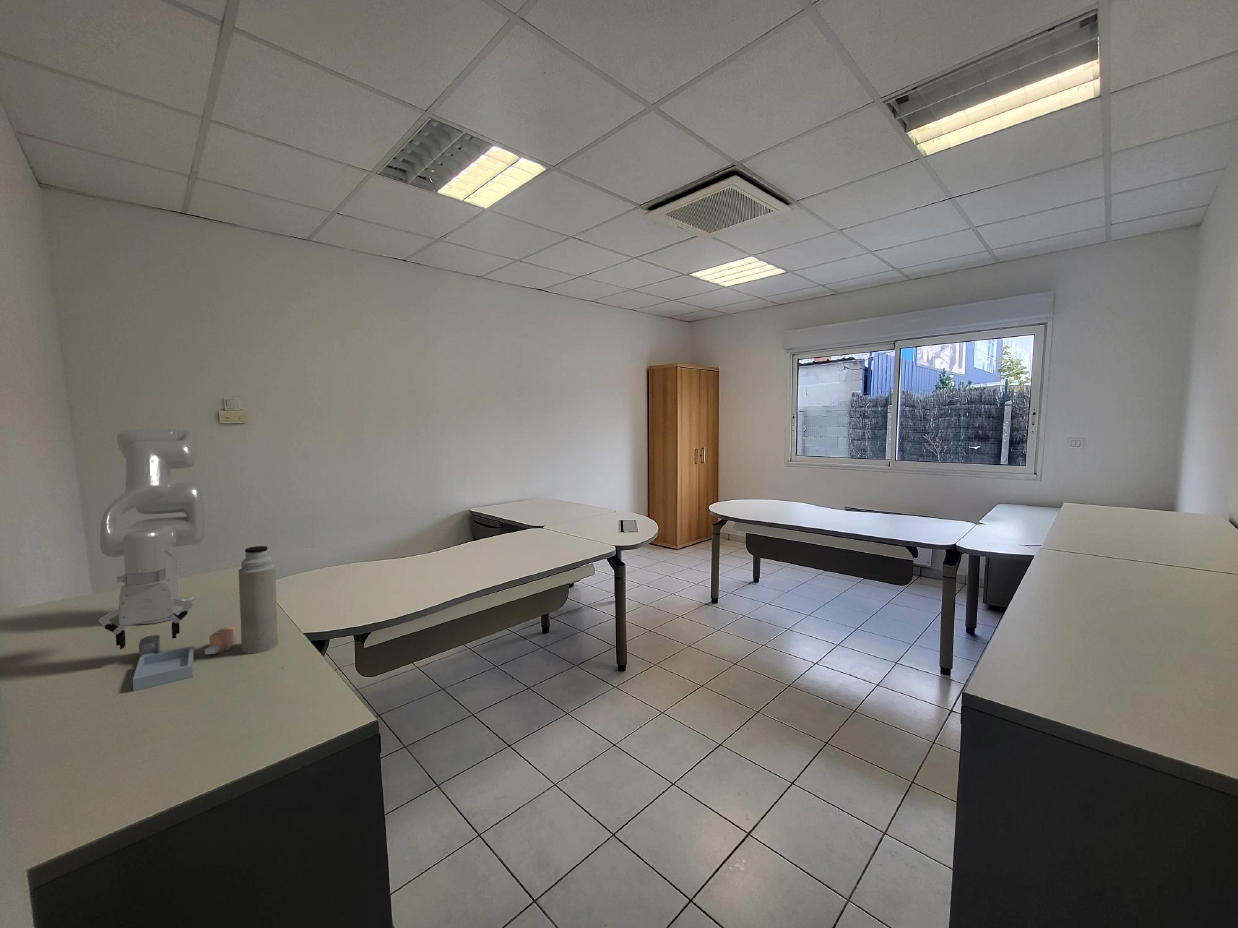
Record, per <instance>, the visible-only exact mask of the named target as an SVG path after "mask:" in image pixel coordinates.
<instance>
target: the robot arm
mask: <svg viewBox="0 0 1238 928" xmlns="http://www.w3.org/2000/svg"><path fill="white" fill-rule="evenodd" d="M116 444H117V446H118V449H119V450H120V453H121V454H122V456H123V457H124V459H125V489H124V490H125V491H124V492H123V493H122V494H120V495H119V496H118V497H117V498H116V499H115V500H113V501H112V502H111V503H110V504H109V506H108V507H107V508H106V509H105V510H104V512H103V514H102V516H101V519H100V528H99V529H100V530H99V531H100V532H99V548H100V550H101V553H102V554H103V555H104V556H107V557H111V558H116V557H117V558H118V557H123V559H124V560H123V562H124V574H123V575H121V576H116V582H117V583H120V582H122V583H124V584H123V585H121V586H120V591H119V597H118V608H116V609H114V610H112V611H110V612H109V613H106V614H105V615H103V616H100V618H99V619H98V622H99V623H100V624H101V625H102V626H103V627H104V629H105V630H107V631H109V632H111V633H113V634H114V635H115V646H117V647H118V646H119V650H123V649H125V647H126V645H127V643H126V642H127V641H126V631H125V630H124V629H125V628H126V627H128V626H135V625H149V624H156V623H157V624H158V623H163V622H166V621H171V638H172V639H177V635H178V634H180V632H181V631H180V628H181V627H180V622H181V621H182V620H183V619H184V618H186V616H187V615H188V613H189V612H190V610H191V608H192V607H193V603H192V602H195V599H196V598H195V596H193V595H190V596H187V597H185V598H184V597H182V596H181V597H180V596H179V580H178V579H179V578H178V577H179V576H178V575H179V574H178V562H177V561H178V560H177V559H176V557H175V556H174V555H173V554H172V553H170V552H169V550H170V549H172V548H175V547H185V546H194V545H198V544H201V543H202V542H203V541H204V539H205V536H206V522H205V505H204V503H205V502H204V494H203V490H202V488H201V487H200V485H199V484H197V483H193V482H179V483H178V482H175V483H174V482H172V477H171V476H172V475H171V474H172V473H171V472H172V470H175V469H177V470H178V469H190V468H192V467H193V466H194V464H195V463H196V457H197V439H196V435H195V434H194V432H193V431H191V430H189V429H179V428H175V429H172V428H171V429H170V428H168V429H167V428H164V429H163V428H133V429H132V428H131V429H130V428H129V429H125V430H122V431H120V432H118V434H117V435H116ZM133 509H135V510H136V511H137V513H139V514H140V515H141V514H142V515H164V514H177V513H180V514H181V513H183V514H185V516H174V517H158V518H148V519H142V520H139V521H136V522H135V523H133V524H132V525H130V526H128V527H118V528H117V523H118V520H119V519H120V518H121V516H123V515H125V513H127V512H128V511H130V510H133ZM116 616H117V617H118V622H119V623H118V625H117V624H114V623H113V622H111V621H110V619H112V618H115V617H116Z"/></svg>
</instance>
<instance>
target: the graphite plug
mask: <svg viewBox="0 0 1238 928" xmlns="http://www.w3.org/2000/svg"><path fill="white" fill-rule="evenodd" d="M160 637H161V636H160V635H159V634H154V635H153V634H152V635H148V636H145V637H142V638H140V641H139V643H138V654H139V655H138V656H139V658H138V659H140V657H142V656H147V655H152V654H157V653H161V638H160Z"/></svg>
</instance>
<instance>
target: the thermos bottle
mask: <svg viewBox="0 0 1238 928" xmlns="http://www.w3.org/2000/svg"><path fill="white" fill-rule="evenodd" d="M244 552H245V558H244V559H242V561H241V565H240V566H241V567H240V569H238V588H239V589H238V590H239V615H240V636H241V637H240V639H241V640H240V641H241V653H244V654H250V655H251V654H258V653H263V652H267V651H270V650H271V649H274V648H276V647H277V645H279V639H278V638H279V637H278V634H279V633H278V612H277V579H276V578H277V577H276V574H277V573H276V565H275V564H274V563H273V558H272V557H271V556H269V553H268V546H266V545H258V546H257V545H256V546H250V547H247V548H245V549H244Z"/></svg>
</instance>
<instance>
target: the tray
mask: <svg viewBox="0 0 1238 928" xmlns="http://www.w3.org/2000/svg"><path fill="white" fill-rule="evenodd" d="M194 647H195V646H194V645H191V646H186V647H181V648H176V649H172V650H165V651H162V652H161V651H160V653H157V654H152V655H147V656H142V657H140V658H138V661H137V666H136V669H135V671H134V674H133V677H132V687H133V689H132V690H133V692H135V691H140V690H145V689H148V688H152V687H156V686H161V685H166V684H169V683H173V682H177V681H182V680H186V679H189V678H193V675H194V672H193V671H194V662H195V661H194V660H195V649H194Z"/></svg>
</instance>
